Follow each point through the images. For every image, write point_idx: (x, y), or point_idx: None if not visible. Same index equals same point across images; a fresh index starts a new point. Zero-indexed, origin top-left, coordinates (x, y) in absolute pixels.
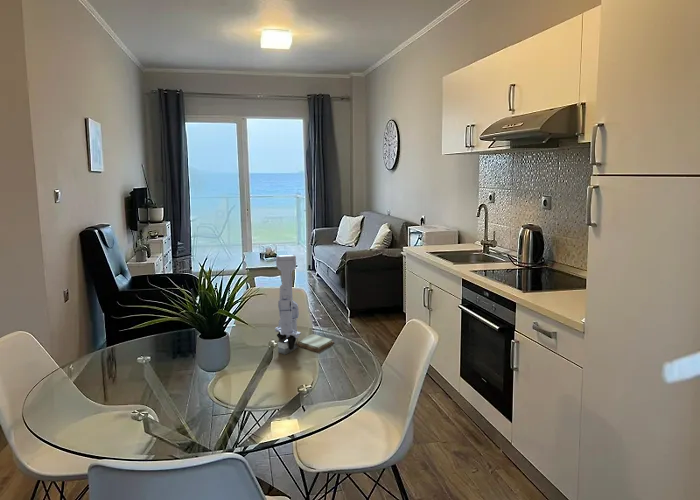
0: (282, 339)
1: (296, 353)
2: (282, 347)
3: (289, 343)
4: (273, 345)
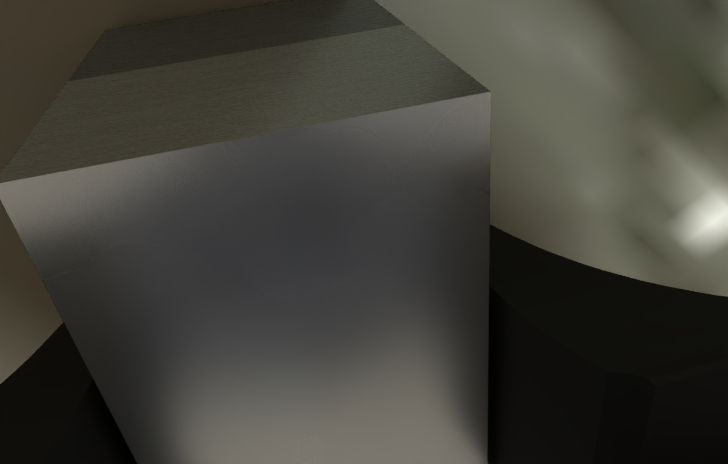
0: (458, 332)
1: (21, 273)
2: (187, 73)
3: (64, 364)
4: (700, 145)
